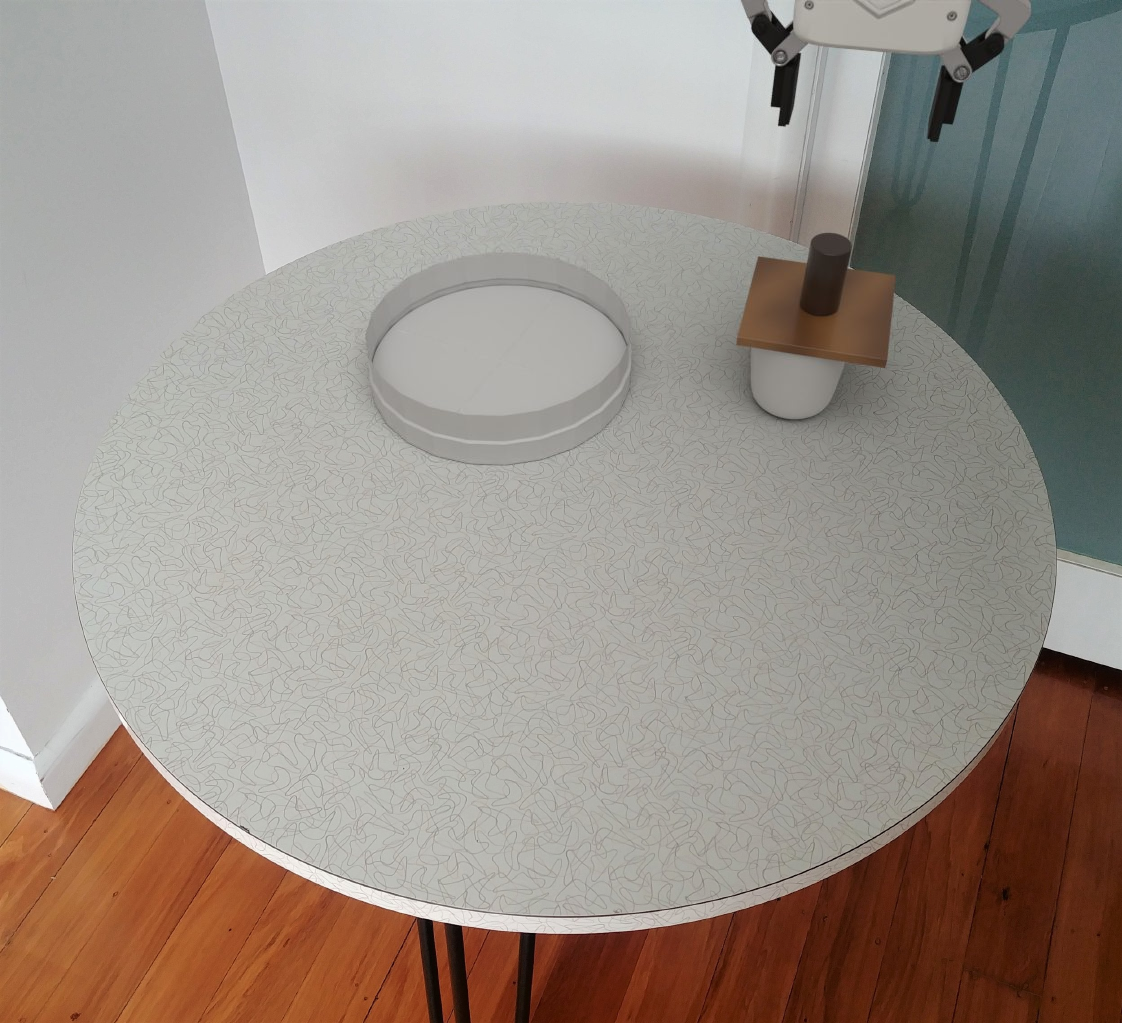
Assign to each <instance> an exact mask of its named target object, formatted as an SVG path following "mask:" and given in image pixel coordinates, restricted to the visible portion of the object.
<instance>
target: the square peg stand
mask: <svg viewBox="0 0 1122 1023" xmlns="http://www.w3.org/2000/svg"><path fill="white" fill-rule="evenodd" d="M852 244H853V243H852V241H851V240H850V239H849V238H848V237H846V236H844V235H842V234H839V233H836V232H821V233H818V234H816V235H814V236H813V237H812V238H811V240H810V243H809V250H808V254H807V258H806V259H807V260H806V262H804V261H795V260H788V259H781V258H773V257H768V256H757V259H756V262H755V267H754V271H753V274H752V279H751V283H750V285H749V290H748V294H747V298H746V302H745V305H744V310H743V314H742V316H741V317H742V318H741V320H740V324H739V329H738V333H737V336H736V343H735V345H736V346H741V347H747V348H751V347H752V348H758V349H765V350H771V351H778V352H784V353H791V354H797V355H803V356H810V357H816V358H823V359H829V360H836V361H842V362H846V363H849V364H855V365H861V366H868V367H875V368H882V369H886V367H887V363H888V357H889V347H890V338H891V328H892V317H893V308H894V300H895V298H894V297H895V290H896V289H895V288H896V279H897V276H896V275H895V274H889V273H881V272H874V271H869V270H868V271H867V270H860V269H854V268H853V269H852V268H849V263H850V257H851V254H852V249H853V245H852Z"/></svg>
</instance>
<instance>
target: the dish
mask: <svg viewBox="0 0 1122 1023" xmlns="http://www.w3.org/2000/svg"><path fill="white" fill-rule="evenodd" d="M630 333H631V319H630V316H629V314H628V311H627V309H626V306H625V304H624V301H623V299H622V298H621V297H620V295H618V293H616V292H615V290H614V289H613V288H612V287H611V286H610V285H609V284H608V283H607V281H605V280H603V279H601V278H600V277H599V276H597V275H595V274H594V273H592V272H590V271H589V270H588V269H585V267H582V266H578V265H576V264H573V263H570V262H568V261H565V260H562V259H560V258H557V257H551V256H546V255H539V254H534V253H528V252H502V251H501V252H497V251H495V252H485V253H479V254H478V253H477V254H472V255H471V254H470V255H463V256H460V257H456V258H452V259H449V260H445V261H442V262H438V263H435V264H433V265H430V266H428V267H426V268H424V269H422V270H420V271H418V272H416V273H414V274H411V275H410V276H408V277H406V278H404V279H403V280H402V281H401V282H399V284H397V285H395V286H394V287H393V288H391V289H390V291H387V293H385V295H384V296H383V298H381V300H380V302H379V303H378V304H377V305H376V307H375V308H374V310H373V311H372V312H371V314H370V318H369V321H368V324H367V327H366V330H365V343H366V350H367V357H368V359H367V364H368V365H367V366H368V375H369V382H370V385H371V391H372V396H373V401H374V404H375V406H376V409H377V410H378V412H379V413H380V415H381V417H382V419H383V421H384V423H385V424H386V425H387V426H388V427H389V428H390V429H391V430H392V431H393V432H394V433H396V434H397V435H398V436H399V437H401V438H402V439H403V440H404V442H406V443H408V444H410V445H412V446H414V447H416V448H418V449H421V450H422V451H424V452H426V453H429V454H430V455H432V456H435V457H439V458H443V459H447V460H451V461H455V462H461V463H465V464H469V465H499V466H501V465H502V466H503V465H504V466H507V465H508V466H509V465H515V464H520V463H527V462H534V461H535V462H536V461H542V460H544V459H548V458H550V457H552V456H556V455H558V454H561V453H564V452H567V451H570V450H572V449H575V448H577V447H578V446H580V445H581V444H583V443H585V442H586V441H588V440H589V439H591V438H592V437H594V436H596V435H597V434H599V433H600V432H602V431H603V430H604V429H605V427H607V426H608V425H609V423H610V422H611V421H612V420H613V419H614V418H615V417H616V416H617V415H618V414H619V413H620V411H621V409H622V407H623V404H624V403H625V400H626V398H627V395H628V394H629V391H630V388H631V386H630V385H631V384H630V382H631V379H630V378H631V370H632V351H633V350H632V347H633V346H632V344H631V341H630V340H631V338H630V337H631V336H630V335H631V334H630Z"/></svg>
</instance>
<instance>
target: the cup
mask: <svg viewBox="0 0 1122 1023" xmlns="http://www.w3.org/2000/svg"><path fill="white" fill-rule="evenodd" d="M750 348H751V349H750V387H751V392H752V393H751V394H752V396H753V398H754V401H756V403H757V404H758V405H759V407H761V408H762V410H764V411H766V412H767V413H768V414H770V415H773V416H775V417H778V418H781V419H787V420H804V419H808V418H811V417H814V416H816V415H818V414H820V413H821V412H823V410H825V408H826V407H827V406H828V405H829V404H830V403H831V400H832V398H833V397H834V394H835V392H836V389H837V387H838V384H839V381H840V378H841V376H842V374H843V370H844V368H845V365H846V363H847V362H842V361H836V360H829V359H823V358H816V357H810V356H803V355H797V354H791V353H784V352H778V351H771V350H765V349H758V348H752V347H750Z"/></svg>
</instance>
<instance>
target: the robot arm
mask: <svg viewBox="0 0 1122 1023" xmlns="http://www.w3.org/2000/svg"><path fill="white" fill-rule="evenodd" d="M976 1H977V2H978V3H980V4H982V5H983V6H984V7H986V8H988V9H989V10H991V11H992V12H993V13H995V14H996V15H997V18H996V19H995V20H994V23H993V24H992V25H991V26H990V27H988V28H987V29H985V30H983V32H981V33H980V34H978V35H977V36H976V37H974V38H973V39H972V40H970V41H969V42H968V40H967V39H966V37H965V35H964V31H965V28H966V25H967V22H968V15H969V13H970V8H971V5H972V0H794V3H793V4H794V6H793V17H792V20H791V21H790V22H789V23H788V24H787V25H786V26H784V24H782V22H781V20H779V19H778V17H777V16H776V14H775V13H774V12H773V11H772V10H771V9H770V6H769V2H768V0H740V2H741V5H742V7H743V10H744V12H745V15H746V18H747V19H748V21H749V23H750V29H751V32H752V34H753V36H754V37H755V38H756V39H757V41H758V42H759V43H760V44H761V46H762V47H763V48H764V49H765V51H766V52H767V53H768V54H769V55H770V60H771V62H772V64H773V65H774V73H773V82H772V89H771V98H770V107H771V108H777V109H778V108H779V114H778V120H777V126H778V127H783V128H785V127H787V126H789V125H790V122H791V119H792V115H793V112H794V109H795V103H796V102H795V101H796V94H797V88H798V87H797V86H798V82H799V72H800V65H801V59H802V52H801V51H803V49H804V48H805V47H806V46H808V44H810V45H813V46H817V47H823V48H832V49H833V48H835V49H844V50H854V51H864V52H865V51H867V52H878V53H890V54H891V53H892V54H901V55H903V54H904V55H916V56H917V55H918V56H935V55H937V56H938V58H940V60H941V63H942V64H941V65H940V70H939V75H938V79H937V83H936V86H935V90H934V95H933V99H932V103H931V109H930V112H929V117H928V122H927V123H928V124H927V133H926V134H927V135H926V139H927V140H929V142H931V143H939V141H940V136H941V132H942V128H943V125H949V126H950V125H954V122H955V118H956V114H957V110H958V106H959V103H960V98H961V94H962V90H963V86H964V83H965V82H967V81H968V80H970V78H971V77H972V75H973V73H975V72H977V71H978V70H979V69H981V68H983V67H984V66H985V65H986V64H988V63H989V62H991V61H993V59H995V58H997V57H998V56H999V55H1001V54H1002V52H1003V51H1004V50H1005V47H1006V45H1007V44H1008V43H1009V42H1010V41H1012V39H1014V37H1015V36H1016V35H1017V34H1018V32H1019V31H1020V30H1022V28H1023V27H1024V25H1025V24H1026V23H1027V22H1028V20H1030V18H1031V16H1032V4H1031V1H1030V0H976Z"/></svg>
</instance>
